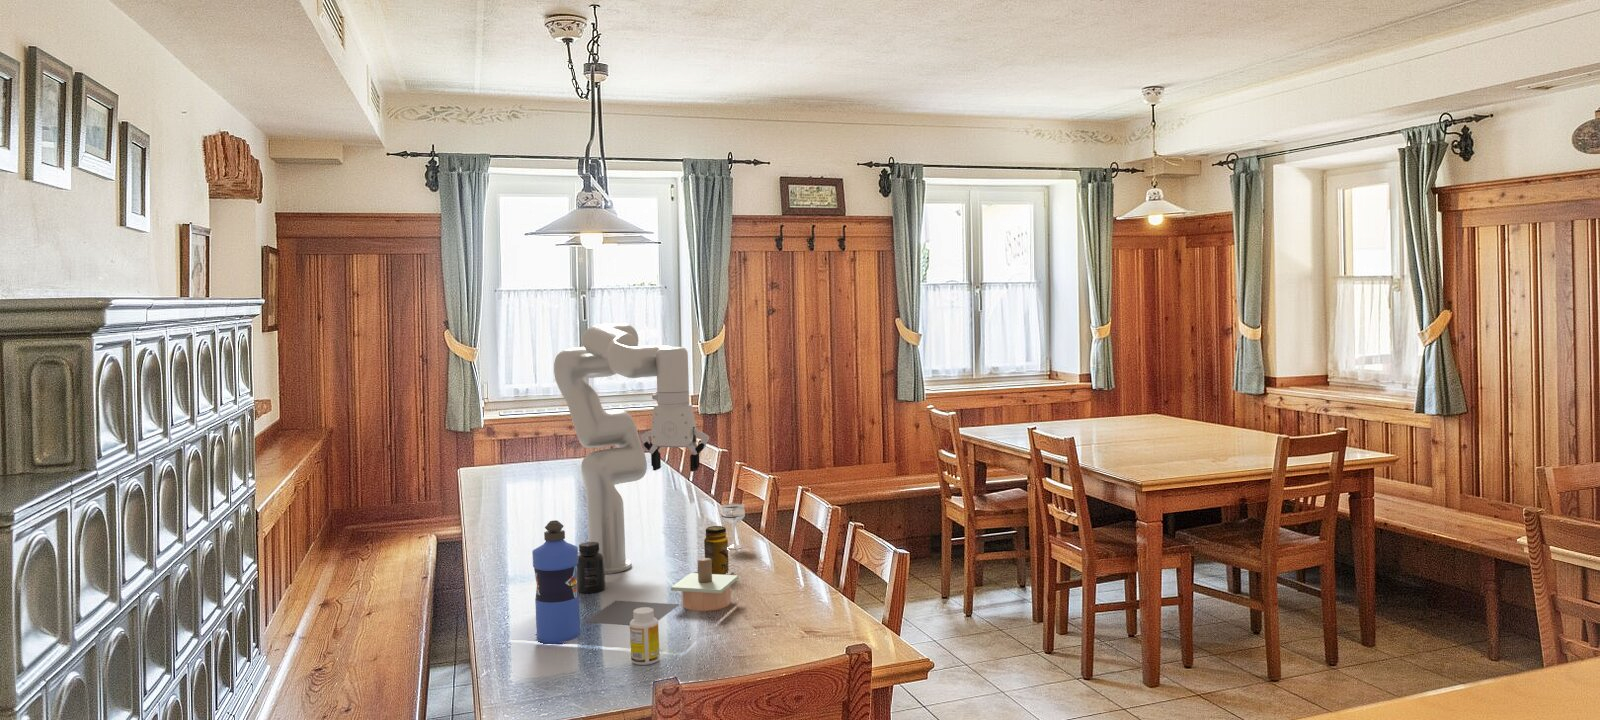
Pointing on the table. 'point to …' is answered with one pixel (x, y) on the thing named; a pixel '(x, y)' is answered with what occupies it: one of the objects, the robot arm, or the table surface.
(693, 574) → the lid
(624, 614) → the mat
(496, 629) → the table surface
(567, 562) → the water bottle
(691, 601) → the bowl
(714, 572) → the condiment
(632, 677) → the table surface
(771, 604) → the table surface
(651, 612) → the supplement bottle
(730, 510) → the wineglass
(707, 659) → the table surface
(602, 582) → the supplement bottle
